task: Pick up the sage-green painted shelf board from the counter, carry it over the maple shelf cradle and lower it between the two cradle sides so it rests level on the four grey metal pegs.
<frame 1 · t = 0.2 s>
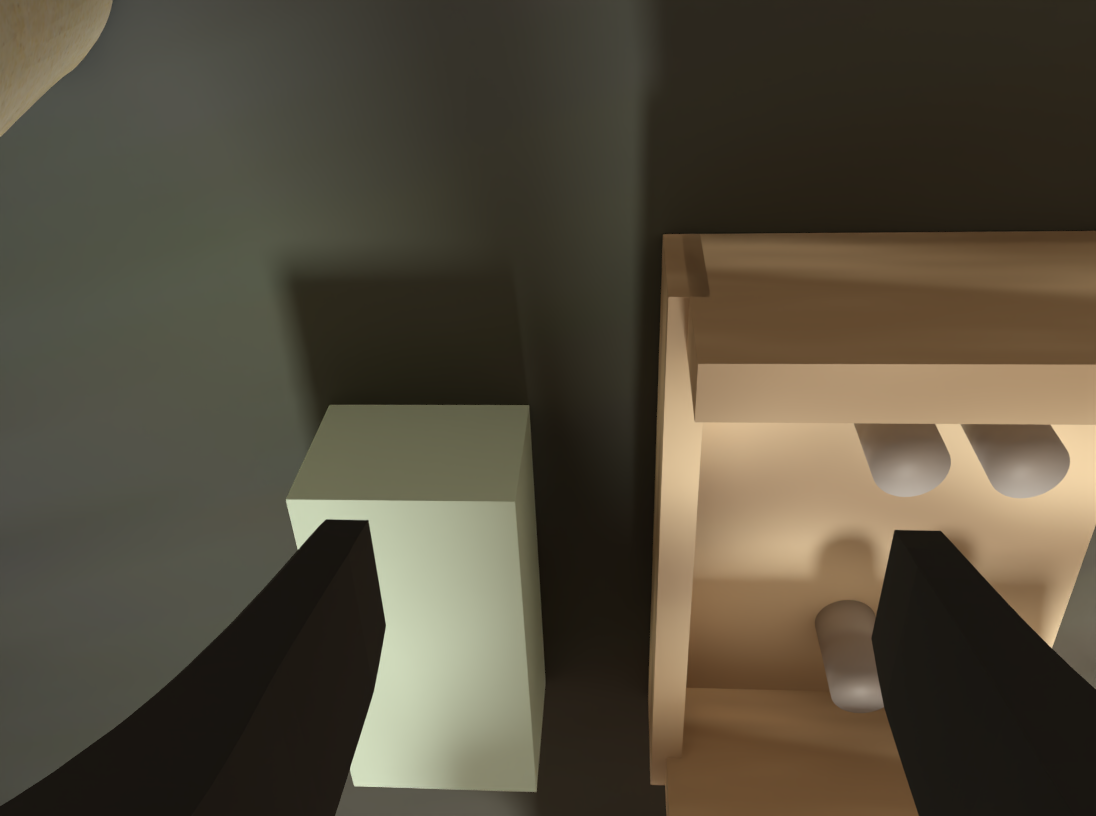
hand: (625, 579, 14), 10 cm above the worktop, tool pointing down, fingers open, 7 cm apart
peg cradle: (906, 507, 25), on the worktop
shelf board: (449, 550, 27), on the worktop
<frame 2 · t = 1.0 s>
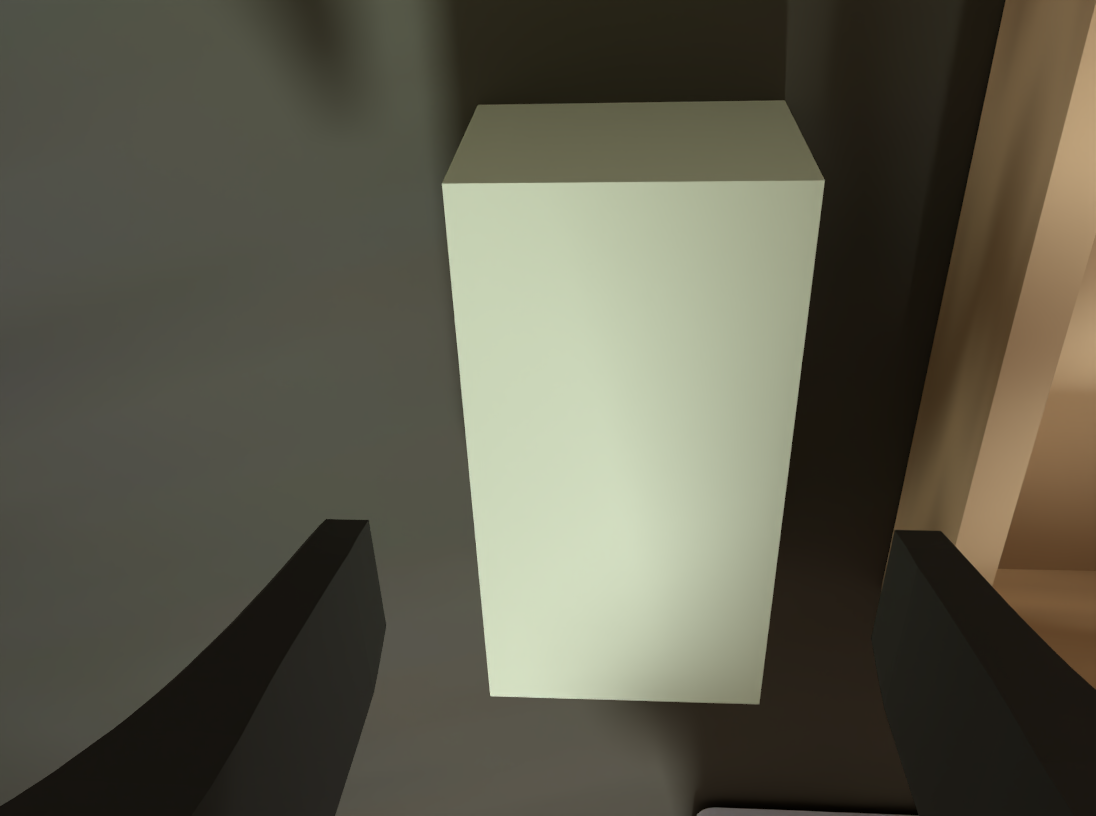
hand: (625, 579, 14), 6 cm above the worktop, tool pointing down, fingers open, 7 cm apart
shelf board: (626, 360, 19), on the worktop
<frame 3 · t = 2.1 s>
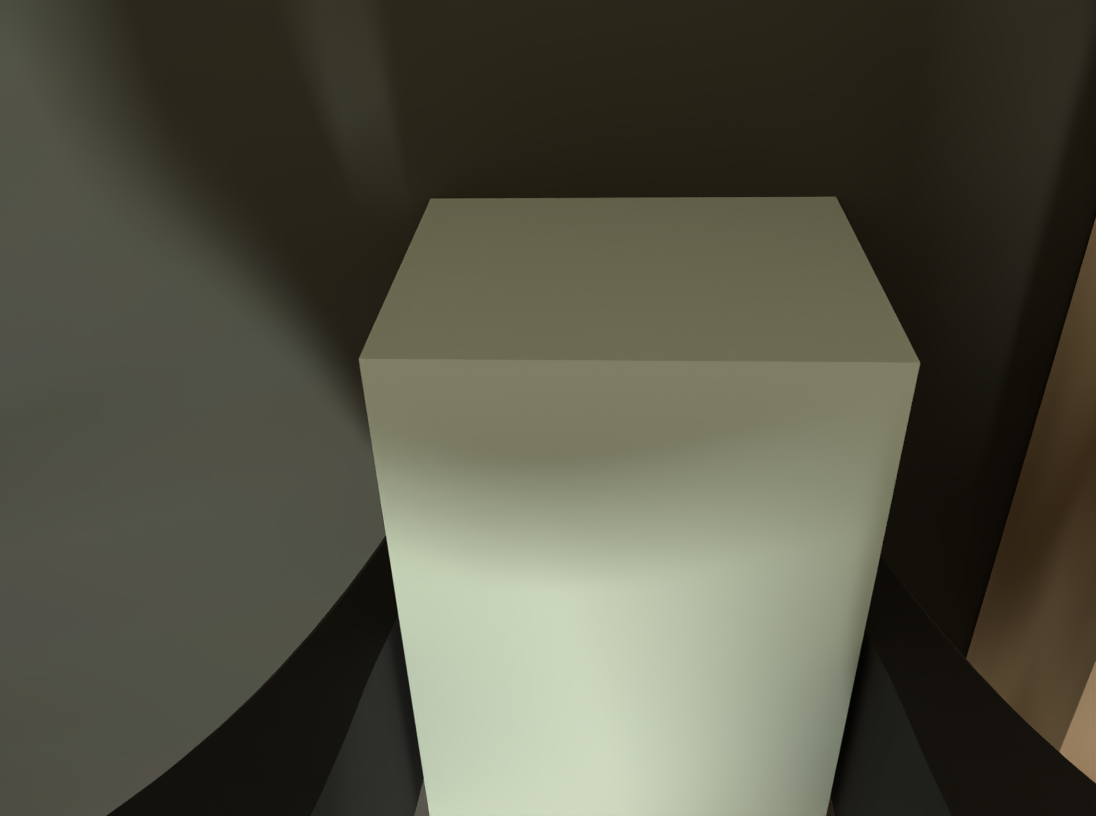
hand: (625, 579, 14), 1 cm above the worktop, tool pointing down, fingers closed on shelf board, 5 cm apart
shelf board: (624, 512, 15), on the worktop, touching gripper
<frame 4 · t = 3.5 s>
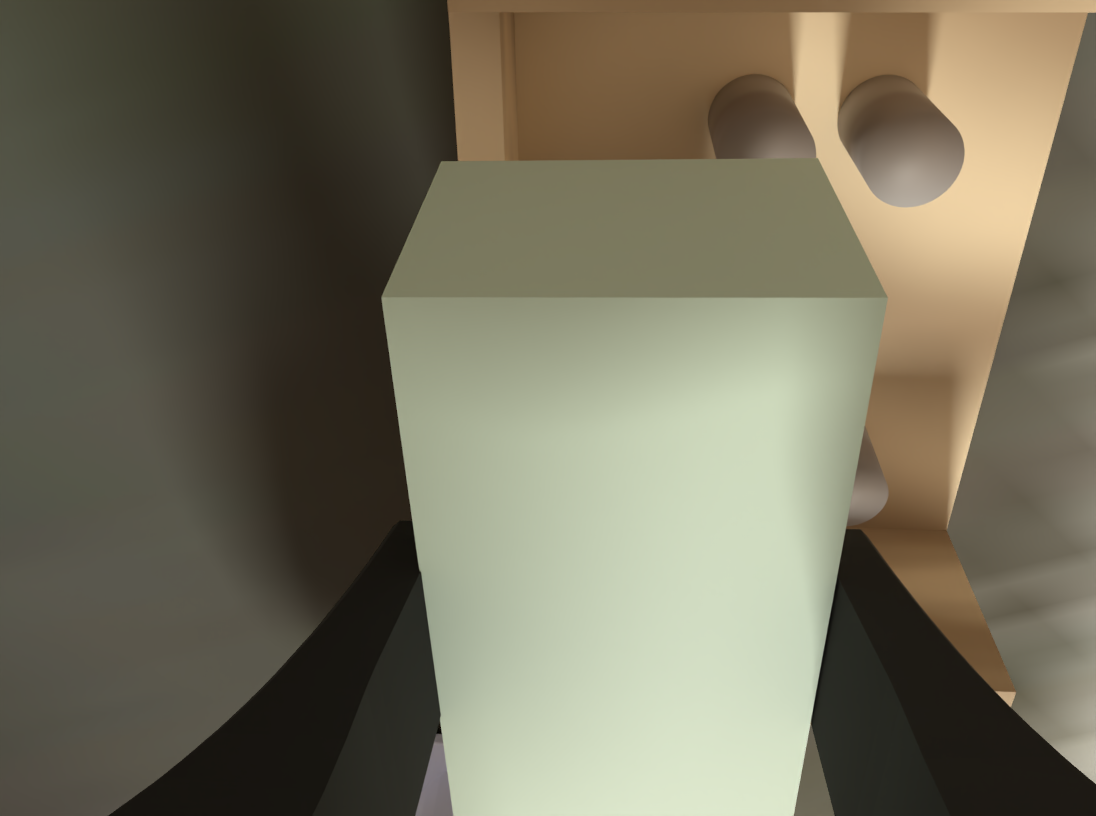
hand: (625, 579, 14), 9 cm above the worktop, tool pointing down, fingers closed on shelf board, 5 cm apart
peg cradle: (788, 275, 21), on the worktop
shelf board: (622, 461, 16), point 6 cm above the worktop, touching gripper
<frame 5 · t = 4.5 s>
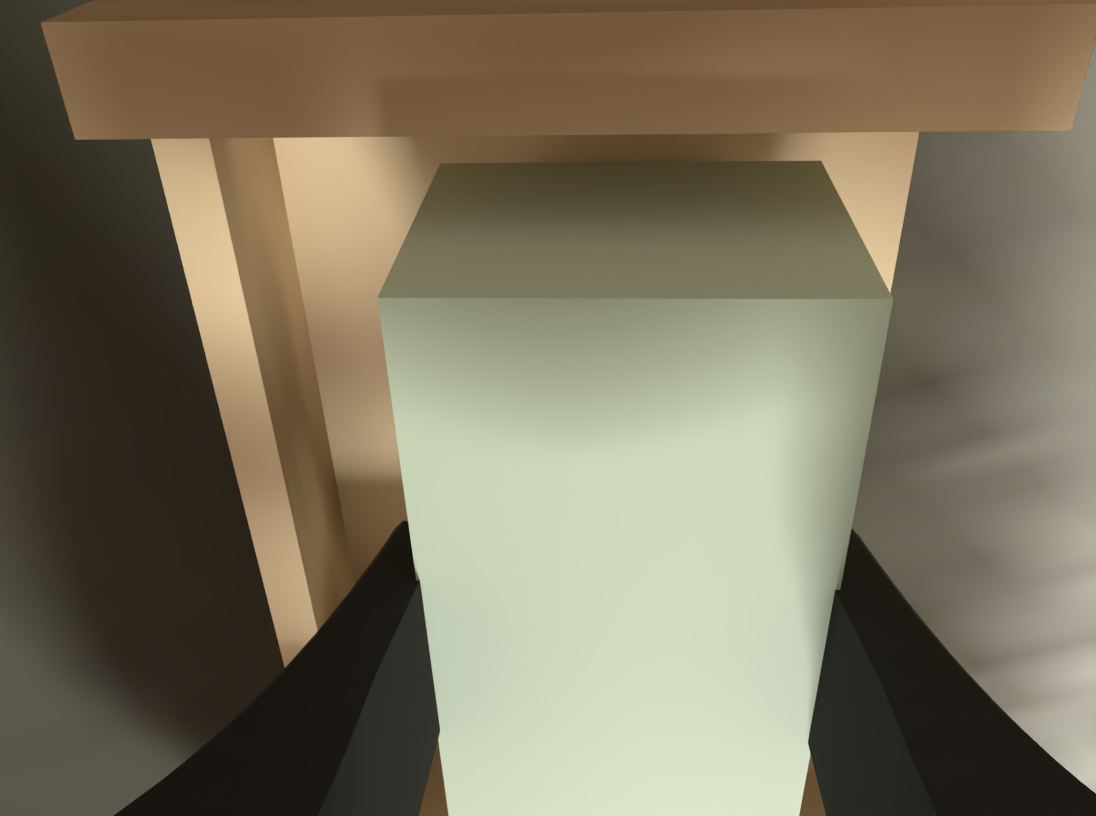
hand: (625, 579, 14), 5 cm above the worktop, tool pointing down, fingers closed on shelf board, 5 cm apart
peg cradle: (623, 378, 18), on the worktop
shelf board: (623, 467, 16), point 3 cm above the worktop, touching gripper, peg cradle
when the fingers open (5 cm above the worktop, at t = 4.9 s): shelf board stays where it is, resting on peg cradle.
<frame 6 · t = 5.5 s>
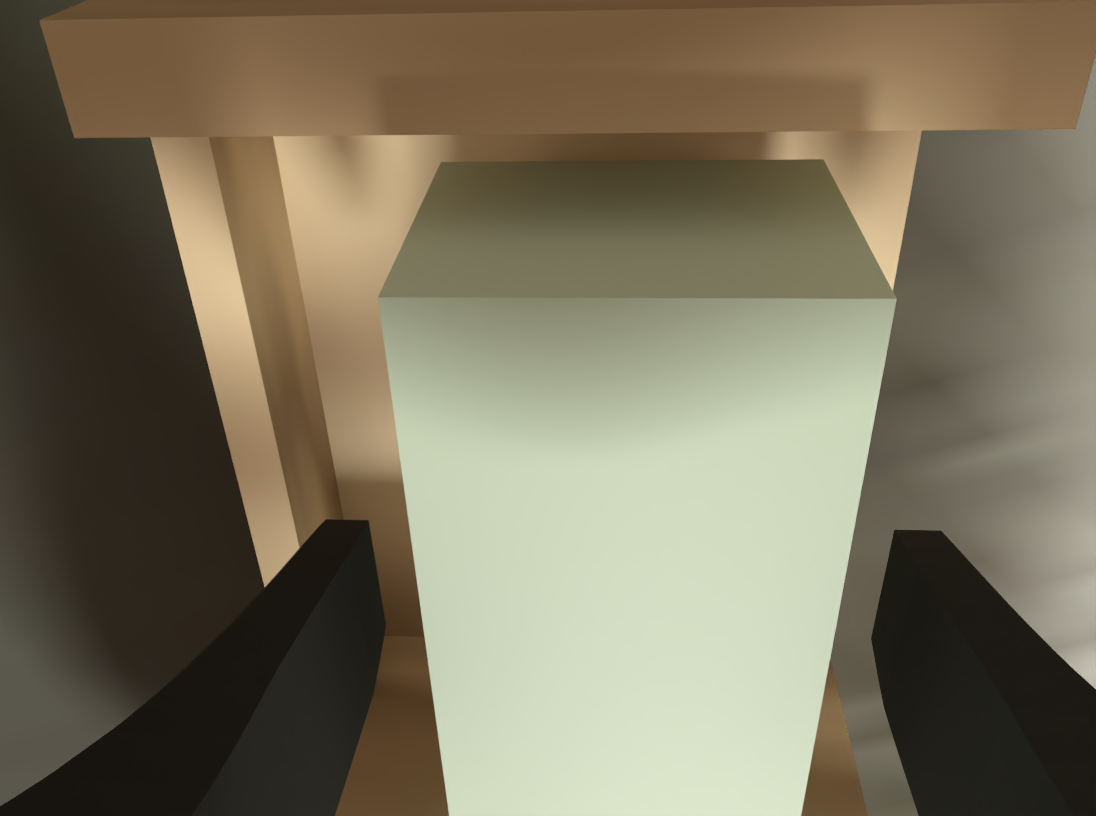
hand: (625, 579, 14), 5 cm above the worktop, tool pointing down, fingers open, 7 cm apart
peg cradle: (624, 378, 18), on the worktop
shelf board: (624, 467, 15), point 3 cm above the worktop, touching peg cradle
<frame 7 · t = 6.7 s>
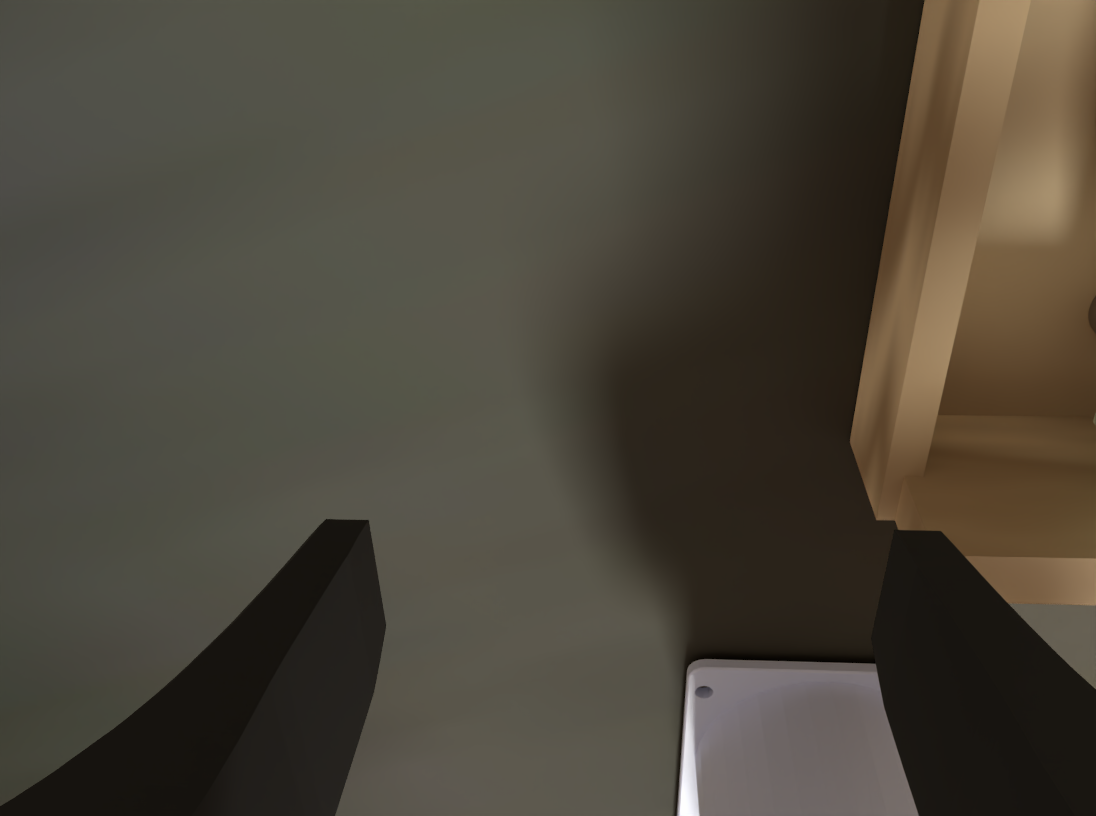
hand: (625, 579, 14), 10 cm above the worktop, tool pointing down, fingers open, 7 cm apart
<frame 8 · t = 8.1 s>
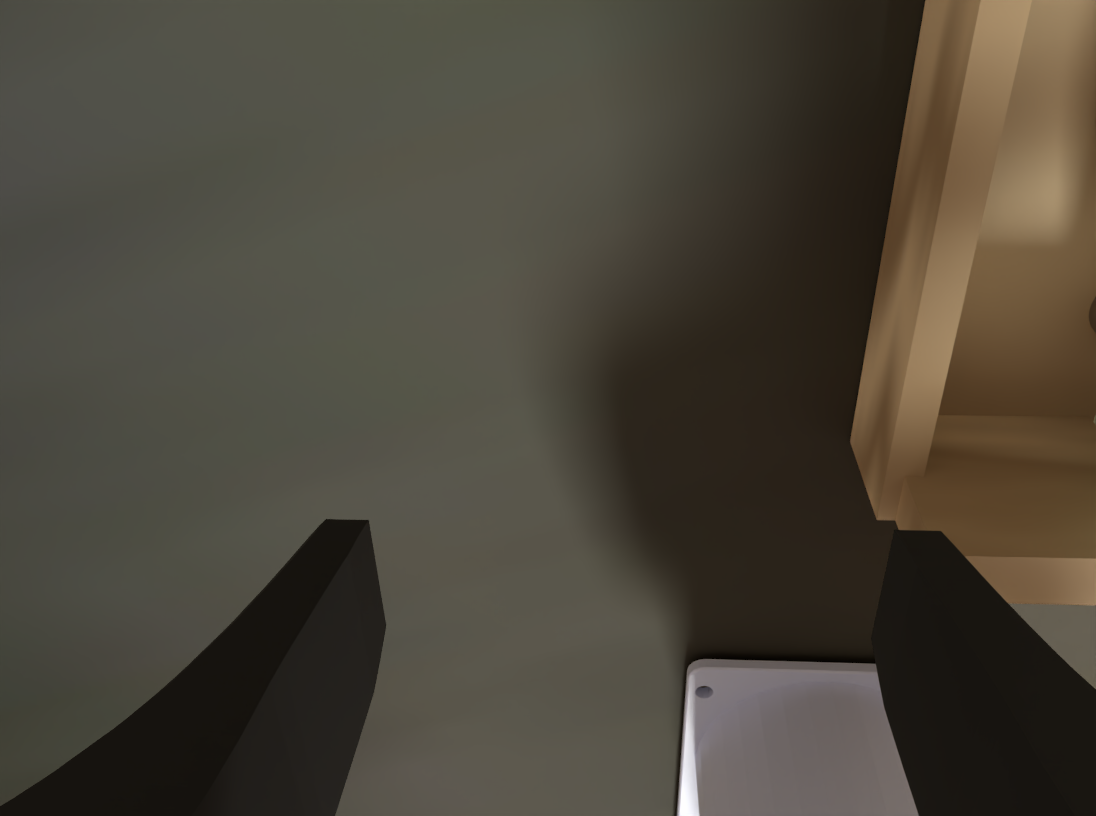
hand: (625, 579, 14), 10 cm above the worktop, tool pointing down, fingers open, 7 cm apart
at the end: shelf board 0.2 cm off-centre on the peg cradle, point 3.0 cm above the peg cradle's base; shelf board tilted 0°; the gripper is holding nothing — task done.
